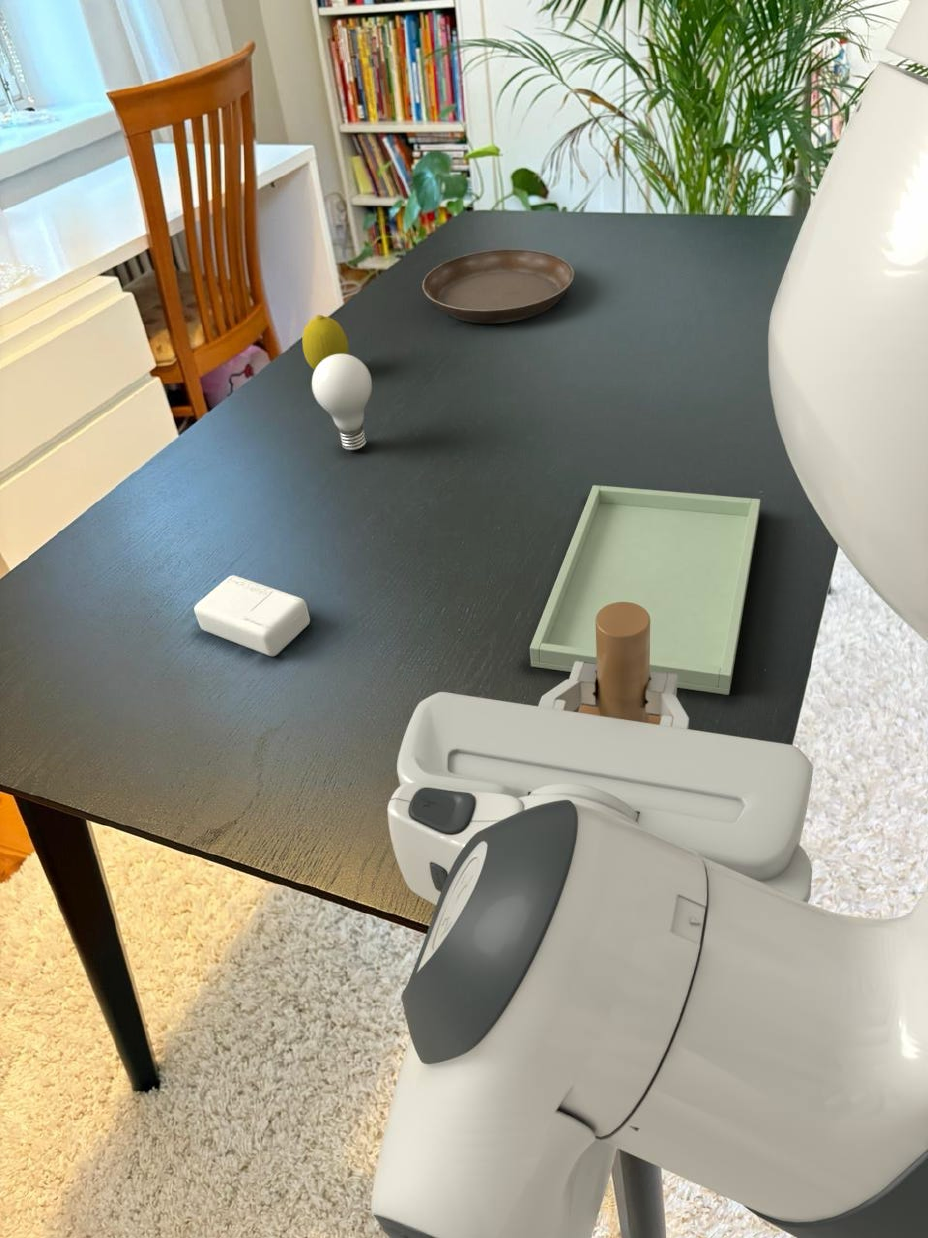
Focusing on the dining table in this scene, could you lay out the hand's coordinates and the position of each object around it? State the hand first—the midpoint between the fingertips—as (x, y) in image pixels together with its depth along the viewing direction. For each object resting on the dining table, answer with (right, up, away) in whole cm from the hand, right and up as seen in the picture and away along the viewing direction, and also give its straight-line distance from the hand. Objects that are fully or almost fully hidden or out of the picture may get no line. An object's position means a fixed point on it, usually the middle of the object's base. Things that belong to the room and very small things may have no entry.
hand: (625, 675), depth 54 cm
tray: (+7, +6, +31) cm, 32 cm away
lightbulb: (-21, +22, +54) cm, 62 cm away
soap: (-27, +2, +32) cm, 42 cm away
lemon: (-26, +34, +68) cm, 80 cm away
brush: (+1, -6, +4) cm, 8 cm away
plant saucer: (-4, +47, +81) cm, 93 cm away
